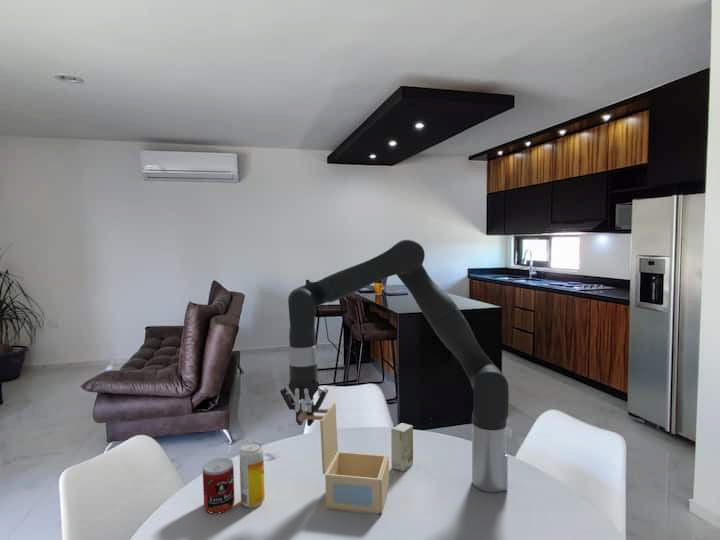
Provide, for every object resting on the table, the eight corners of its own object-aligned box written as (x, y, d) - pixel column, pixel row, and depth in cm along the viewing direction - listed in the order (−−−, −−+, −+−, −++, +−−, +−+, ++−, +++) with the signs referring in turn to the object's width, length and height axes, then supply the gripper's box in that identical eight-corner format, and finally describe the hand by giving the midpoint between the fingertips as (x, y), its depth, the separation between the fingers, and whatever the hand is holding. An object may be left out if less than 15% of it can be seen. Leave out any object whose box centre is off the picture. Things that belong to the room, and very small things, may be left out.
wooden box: (389, 487, 122) (388, 455, 121) (381, 515, 109) (381, 480, 108) (338, 482, 125) (338, 451, 124) (325, 509, 112) (325, 475, 111)
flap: (335, 402, 124) (308, 401, 125) (322, 420, 111) (293, 419, 113) (337, 450, 124) (311, 449, 126) (324, 474, 112) (295, 472, 113)
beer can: (269, 498, 117) (267, 444, 116) (254, 511, 112) (253, 454, 111) (251, 493, 120) (249, 440, 119) (236, 505, 114) (234, 449, 113)
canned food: (206, 518, 109) (205, 475, 108) (201, 502, 116) (200, 461, 115) (237, 509, 112) (236, 467, 112) (231, 494, 120) (230, 455, 119)
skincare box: (403, 472, 130) (402, 432, 129) (390, 468, 132) (390, 428, 132) (414, 463, 135) (413, 425, 134) (402, 459, 137) (401, 421, 137)
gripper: (331, 359, 120) (333, 420, 121) (284, 357, 123) (286, 417, 124) (323, 366, 113) (325, 431, 114) (273, 364, 116) (276, 428, 117)
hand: (305, 424), depth 119 cm, fingers closed on flap, 2 cm apart
